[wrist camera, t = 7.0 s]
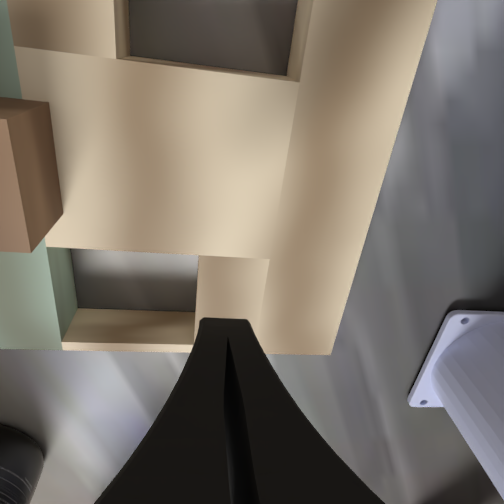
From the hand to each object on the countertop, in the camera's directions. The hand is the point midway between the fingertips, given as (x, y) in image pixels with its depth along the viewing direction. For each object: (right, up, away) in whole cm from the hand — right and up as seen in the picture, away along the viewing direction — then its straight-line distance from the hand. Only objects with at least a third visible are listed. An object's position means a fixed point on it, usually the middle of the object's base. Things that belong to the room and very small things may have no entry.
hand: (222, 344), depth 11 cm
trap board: (-2, +7, +5) cm, 9 cm away
